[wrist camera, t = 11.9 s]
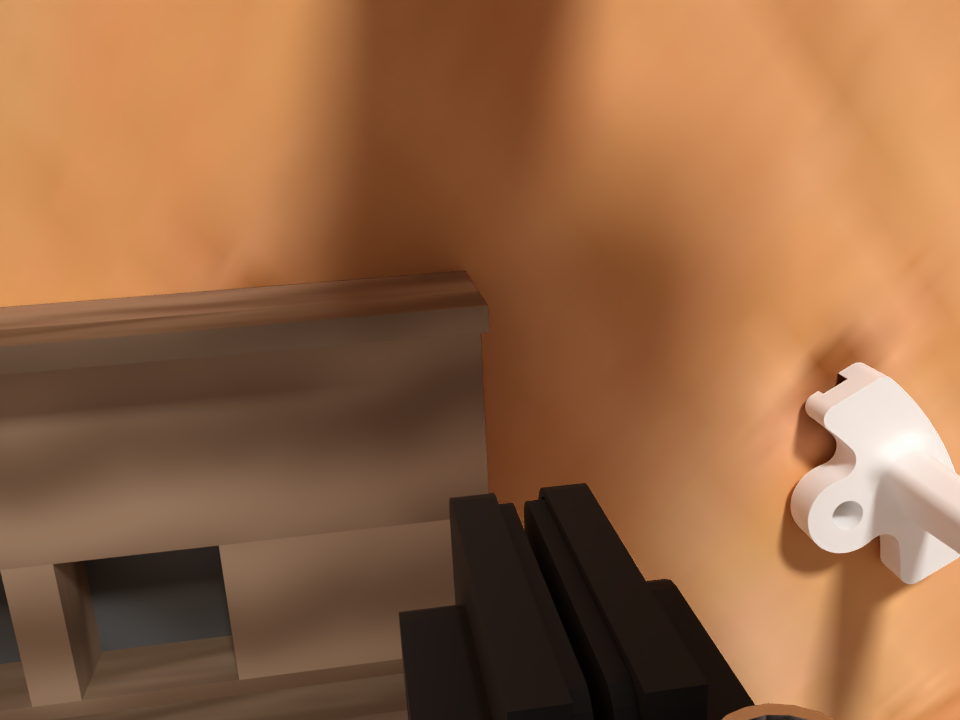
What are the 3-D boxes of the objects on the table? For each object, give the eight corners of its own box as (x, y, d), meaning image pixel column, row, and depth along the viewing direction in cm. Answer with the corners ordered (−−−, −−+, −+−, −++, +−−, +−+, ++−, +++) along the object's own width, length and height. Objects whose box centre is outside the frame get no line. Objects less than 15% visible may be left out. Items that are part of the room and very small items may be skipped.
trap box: (-460, 343, 35) (-629, 399, 29) (465, 270, 40) (488, 305, 33) (-315, 731, 41) (-432, 848, 34) (485, 629, 45) (508, 716, 39)
